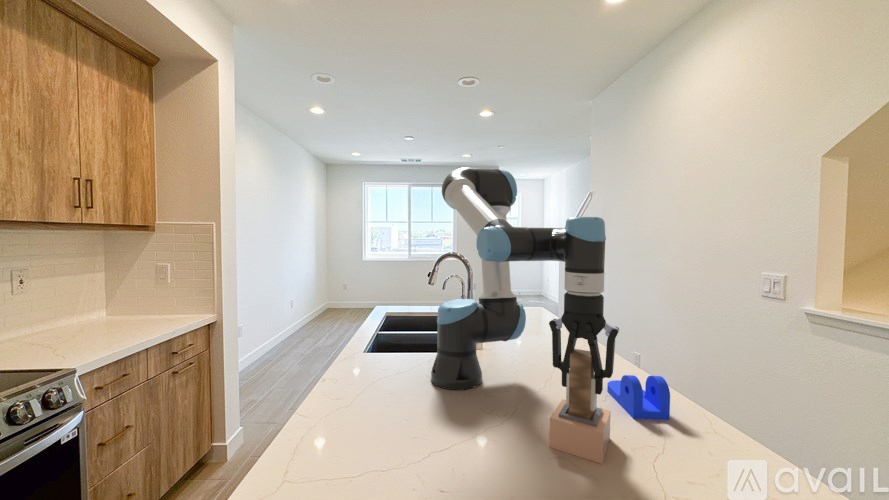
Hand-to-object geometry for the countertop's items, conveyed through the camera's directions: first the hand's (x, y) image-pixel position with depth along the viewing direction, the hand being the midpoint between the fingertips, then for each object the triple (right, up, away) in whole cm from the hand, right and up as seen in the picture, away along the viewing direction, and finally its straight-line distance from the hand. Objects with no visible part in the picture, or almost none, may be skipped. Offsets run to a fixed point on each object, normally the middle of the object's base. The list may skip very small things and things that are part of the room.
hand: (581, 405), depth 74 cm
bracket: (+21, -8, +19) cm, 29 cm away
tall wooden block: (0, -3, 0) cm, 3 cm away
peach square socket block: (0, -8, 0) cm, 8 cm away
